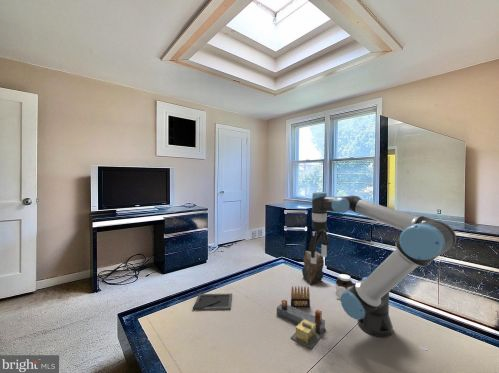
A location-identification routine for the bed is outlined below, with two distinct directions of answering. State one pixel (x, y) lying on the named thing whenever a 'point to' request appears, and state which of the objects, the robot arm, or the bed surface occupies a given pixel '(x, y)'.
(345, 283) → the spread jar
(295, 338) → the felt mat
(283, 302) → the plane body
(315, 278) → the brown rock
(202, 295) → the picture frame
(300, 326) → the lever cap
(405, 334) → the bed surface
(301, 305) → the ammunition clip
